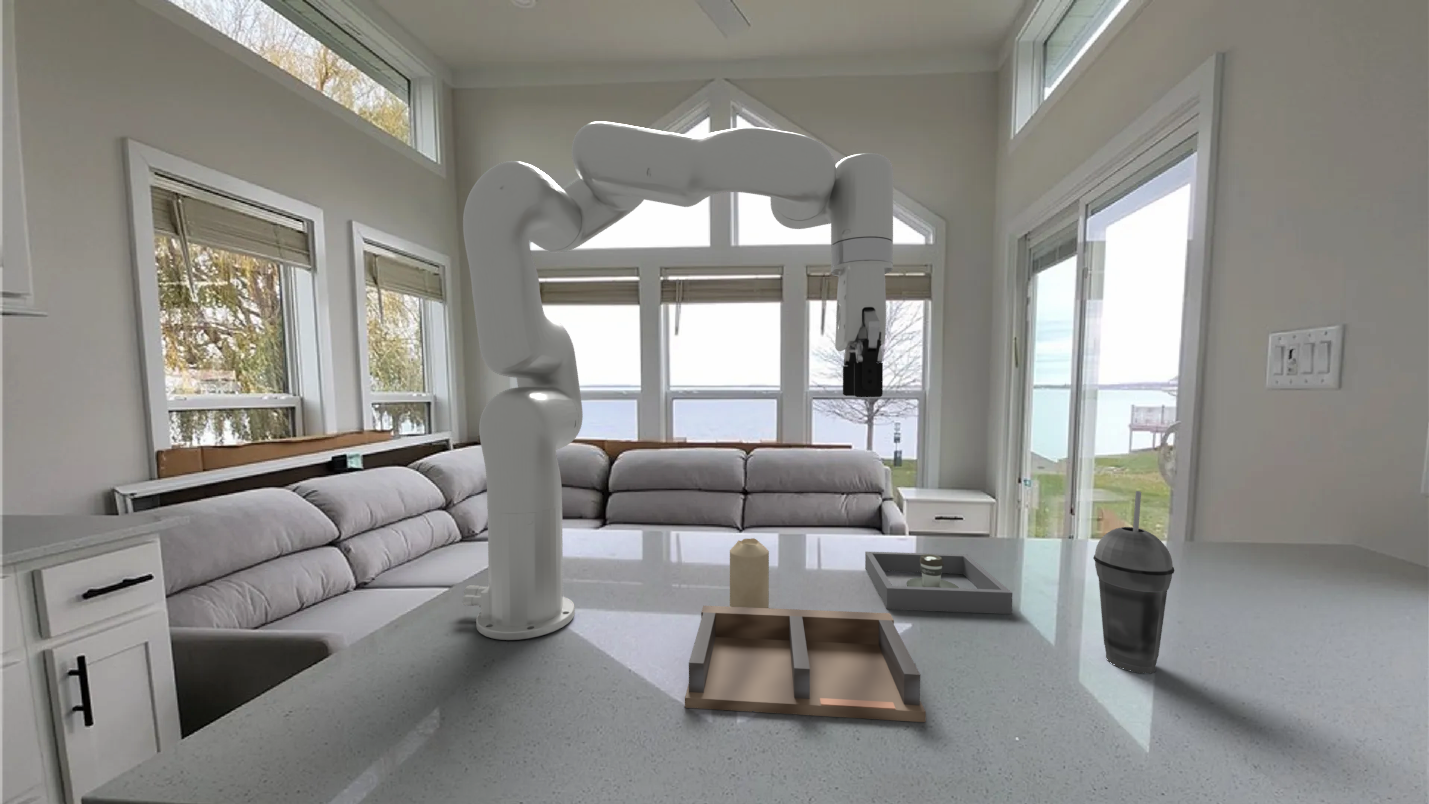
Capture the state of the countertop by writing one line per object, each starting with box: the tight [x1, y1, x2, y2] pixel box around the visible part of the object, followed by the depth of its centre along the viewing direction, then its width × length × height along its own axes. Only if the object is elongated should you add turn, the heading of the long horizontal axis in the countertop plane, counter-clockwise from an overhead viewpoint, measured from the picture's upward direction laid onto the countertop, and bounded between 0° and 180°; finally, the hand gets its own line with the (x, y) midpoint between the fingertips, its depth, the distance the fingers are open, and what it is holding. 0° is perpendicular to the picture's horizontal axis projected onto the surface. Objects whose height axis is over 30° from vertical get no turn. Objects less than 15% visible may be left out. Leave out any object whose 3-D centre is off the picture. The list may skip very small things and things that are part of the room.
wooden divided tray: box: [684, 605, 927, 723], centre depth 59 cm, size 23×15×4 cm, turn 84°
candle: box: [729, 537, 770, 608], centre depth 75 cm, size 6×6×10 cm
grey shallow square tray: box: [864, 551, 1013, 615], centre depth 84 cm, size 17×17×3 cm
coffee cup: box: [906, 553, 960, 588], centre depth 83 cm, size 12×12×5 cm
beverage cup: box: [1093, 490, 1175, 674], centre depth 61 cm, size 7×7×20 cm
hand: (861, 396), depth 67 cm, fingers open, 9 cm apart
